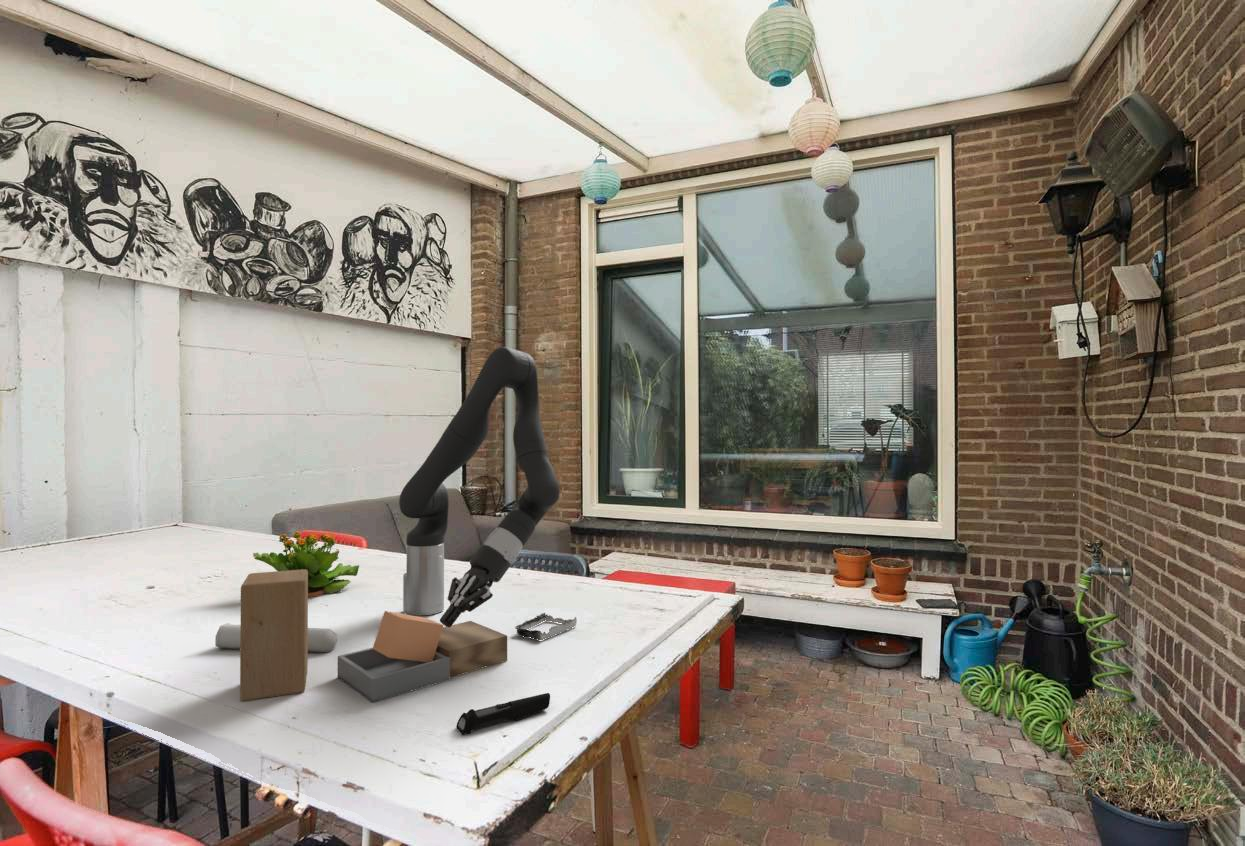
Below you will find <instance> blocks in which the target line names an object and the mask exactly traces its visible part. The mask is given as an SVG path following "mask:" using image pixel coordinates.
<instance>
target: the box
mask: <svg viewBox="0 0 1245 846" xmlns="http://www.w3.org/2000/svg"><path fill="white" fill-rule="evenodd" d="M337 679H340V681H342V682H344V684H346V685H347V686H349V687H350V688H351V689H353V690H354V691H356V692H357V693H359V694H360V695H361V696H362V697H364V698H365V699H366V700H368V701H369V702H370V703H372V704H373V703H376V702H379V701H383V700H386V698H387V699H389V697H390V698H393V697H397V696H400V695H403V694H406V692H407V693H409V691H410V692H412V691H411V690H413V691H415V689H417V690H419V688H420V689H423V688H427V687H429V686H428V685H430V686H433V685H436V684H439V682H440V683H443V682H445V681H450V680H449V679H451V677H450V658H449V657H447V656H445V655H443V654H441V653H439V652H437V651H436V652H435V655H434V659H433V661H431V662H421V661H413V660H404V659H396V658H389V657H387V656H385V655H383V654H381V653H380V652H378V651H376V650H374V649H373V647H369V648H365V649H360V650H357V651H352V652H348V653H344V654H339V655H337ZM442 681H443V682H442ZM435 683H436V684H435ZM432 684H433V685H432ZM426 686H427V687H426ZM422 687H423V688H422ZM402 693H403V694H402ZM399 694H400V695H399ZM396 695H397V696H396Z"/></svg>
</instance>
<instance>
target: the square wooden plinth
mask: <svg viewBox="0 0 1245 846" xmlns="http://www.w3.org/2000/svg"><path fill="white" fill-rule="evenodd" d="M436 651H437V652H439V653H441V654H443V655H445V656H447V657H449V658H450V678H454V677H457V676H460V675H464V674H467V673H470V672H473V670H474V671H477V670H480V669H483V668H482V667H484V668H486V667H485V666H487V667H490V666H489V665H491V666H494V665H497V664H500V663H499V662H501V663H503V662H502V661H504V662H507V661H508V635H506V634H504V633H502V632H500V631H497V630H494V629H492V628H489V627H487V626H484V625H482V624H481V623H477V622H474V621H473V620H467V621H464V622H459V623H455V624H453V625H452V626H451V627H446V626H443V629H442V632H441V636H440V639H439V642H438V645H437V649H436ZM506 660H507V661H506ZM496 663H497V664H496ZM493 664H494V665H493ZM479 668H480V669H479ZM476 669H477V670H476ZM466 672H467V673H466ZM463 673H464V674H463ZM453 676H454V677H453Z"/></svg>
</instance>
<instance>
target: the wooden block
mask: <svg viewBox="0 0 1245 846" xmlns="http://www.w3.org/2000/svg"><path fill="white" fill-rule="evenodd" d="M308 606H309V598H308V571H307V570H306V569H302V570H289V571H277V570H275V571H266V572H265V571H264V572H255V573H254V572H253V573H249V574H248V575H247V576H246V578H245V579H244V581H243V582H242V584H241V586H240V625H241V630H240V649H239V650H240V651H239V653H240V654H239V655H240V656H239V657H240V659H239V661H240V662H239V663H240V666H239V667H240V668H239V674H240V675H239V678H240V679H239V683H240V684H239V692H240V693H239V700H240V701H243V702H246V701H252V700H259V699H266V698H274V697H279V696H280V697H281V696H286V695H287V696H288V695H294V694H301V693H303V692H305V690H306V686H307V685H306V684H307V676H308V662H309V661H308V658H309V657H308V653H309V652H308V628H309V624H308V623H309V619H308V617H309V614H308V613H309V607H308Z"/></svg>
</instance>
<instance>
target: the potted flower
mask: <svg viewBox="0 0 1245 846" xmlns="http://www.w3.org/2000/svg"><path fill="white" fill-rule="evenodd" d="M305 536H306V537H304V538H301V537H302V534H301V532H300V531H299V530H298V531H295V532H294V533H293V535H292V537H293V538H294V539H295V540H293V539H291V536H288V534H287V533H284V534H280V535H279V540H278V542H279V543H282V544H283V546H284V549H283V550H282V552H279V553H278V554H277V553H276V552H269V553H268V552H267V553H266V552H262V553H261V554H260V552H253V553H252V556H253V558H254V559H255V560H256V561H259V562H263V563H265V564H266V565H269V566H271V567H272V568H273V569H274V570H275V571H289V570H302V569H306V570H307V571H308V599H309V598H315V597H318V596H319V597H320V596H322V595H323V594H324V593H326V594H331V593H332V594H333V593H334V594H335V593H336V592H340V591H341V590H343V589H345V587H347V586H348V584H350V583H351V582H352V581H351V580H349V579H340V578H339V577H341V576H344V577H345V576H348V577H349V576H353V577H356V576H357V575H358V573H359V569H360V565H359V564H358V565H353V566H352V565H351V564H348V565H343V563H342V562H340V563H338V564H337V565H336V566H335V567H334V568H333V569H332V570H330V569H331V568H332V566H333V563H334V562H336V561H337V560H338V559H339V553H340V550H339V549H337V550H336V551H332V552H331V550H332V548H333V547H334V546H335V544H336V543H335V540H336V539H335V538H336V537H335V536H336V535H334V534H332V533H330V534H326V533H323V534H320V535H319V536H318V535H317V534H314V533H308V534H306V535H305ZM318 538H320V540H321V541H323V545H322V546H321V547H320V546H319V545H318ZM317 546H319V547H317ZM316 547H317V548H316ZM291 548H292V549H291ZM325 550H326V551H325ZM288 552H289V553H288ZM284 553H285V554H284Z"/></svg>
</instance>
